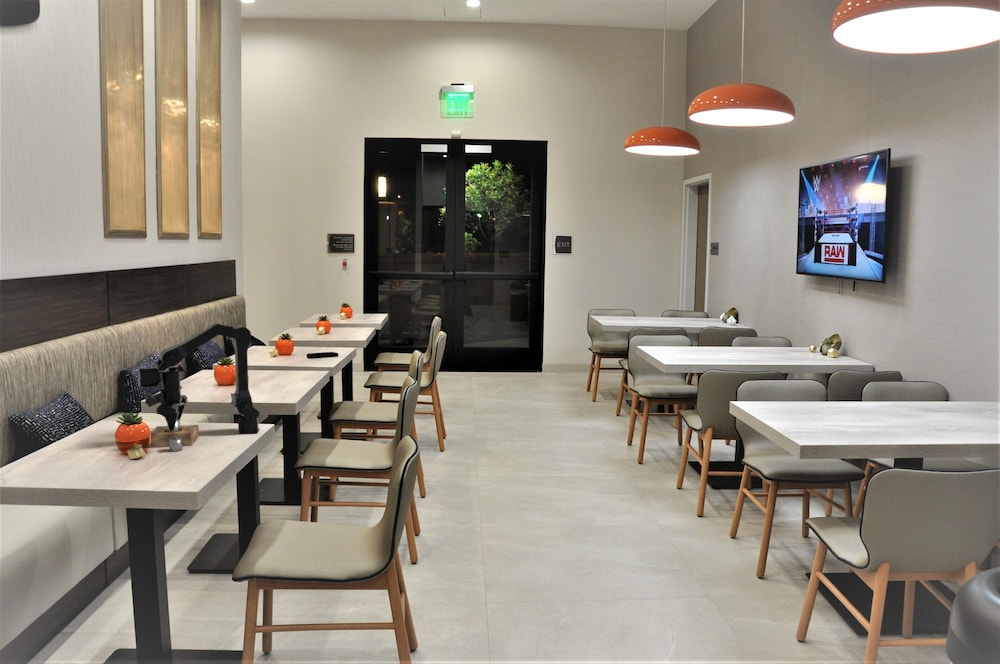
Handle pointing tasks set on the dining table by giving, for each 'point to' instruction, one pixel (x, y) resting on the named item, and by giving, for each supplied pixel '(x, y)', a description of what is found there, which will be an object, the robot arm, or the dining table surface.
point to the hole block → (174, 435)
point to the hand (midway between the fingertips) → (173, 428)
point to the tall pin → (177, 426)
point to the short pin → (175, 444)
